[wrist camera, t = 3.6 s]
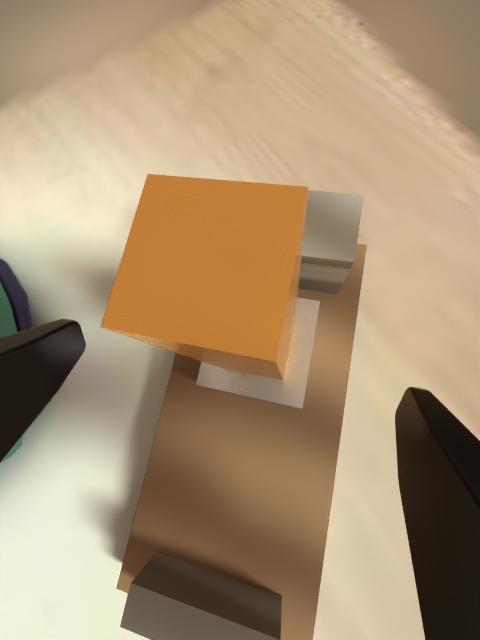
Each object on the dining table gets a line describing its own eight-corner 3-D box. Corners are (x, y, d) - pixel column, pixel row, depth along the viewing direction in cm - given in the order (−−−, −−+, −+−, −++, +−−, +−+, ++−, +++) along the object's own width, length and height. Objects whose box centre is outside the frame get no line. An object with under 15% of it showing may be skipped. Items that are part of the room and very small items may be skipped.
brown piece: (307, 635, 14) (319, 792, 8) (132, 570, 16) (49, 665, 10) (360, 256, 17) (391, 197, 12) (214, 239, 19) (185, 180, 14)
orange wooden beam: (301, 406, 15) (335, 448, 4) (204, 385, 16) (31, 373, 5) (334, 203, 17) (412, -111, 6) (248, 195, 18) (190, -87, 7)
